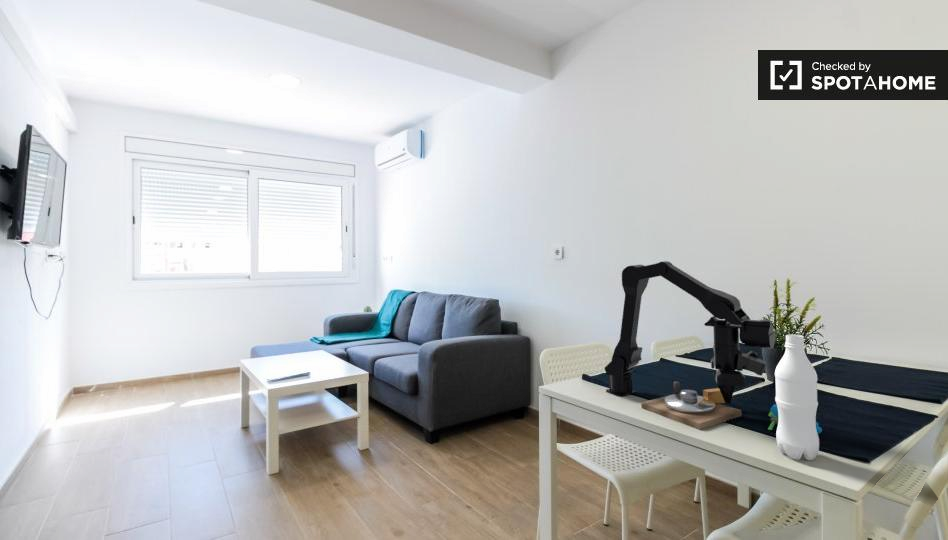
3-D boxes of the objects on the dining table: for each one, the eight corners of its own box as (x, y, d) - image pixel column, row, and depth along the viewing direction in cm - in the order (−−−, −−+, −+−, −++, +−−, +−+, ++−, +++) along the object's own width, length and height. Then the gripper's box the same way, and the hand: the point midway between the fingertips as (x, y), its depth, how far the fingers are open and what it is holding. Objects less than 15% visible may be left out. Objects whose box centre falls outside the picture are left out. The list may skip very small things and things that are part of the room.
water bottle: (821, 466, 87) (818, 340, 86) (777, 458, 90) (774, 338, 90) (817, 451, 93) (814, 333, 92) (775, 445, 97) (772, 331, 96)
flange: (684, 416, 111) (683, 401, 111) (655, 401, 123) (655, 387, 123) (742, 408, 114) (742, 394, 114) (709, 394, 126) (709, 381, 126)
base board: (641, 407, 123) (640, 388, 123) (681, 397, 130) (680, 378, 129) (699, 429, 107) (698, 407, 106) (741, 416, 113) (740, 395, 113)
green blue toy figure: (834, 434, 97) (803, 405, 96) (822, 457, 95) (791, 428, 94) (787, 423, 107) (759, 397, 106) (776, 443, 106) (748, 417, 105)
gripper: (770, 353, 103) (772, 419, 103) (756, 338, 120) (757, 394, 120) (716, 351, 107) (718, 414, 108) (709, 336, 124) (711, 391, 125)
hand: (727, 403), depth 115 cm, fingers closed
